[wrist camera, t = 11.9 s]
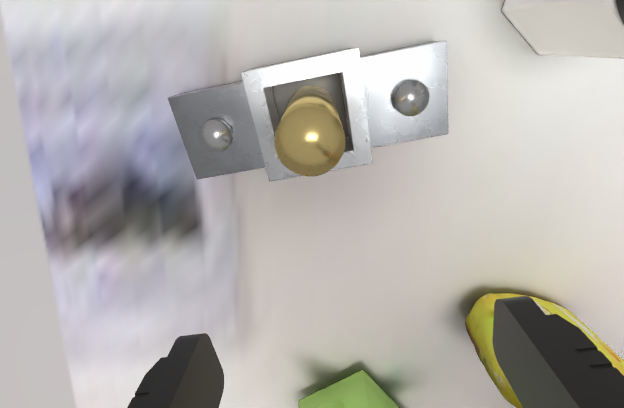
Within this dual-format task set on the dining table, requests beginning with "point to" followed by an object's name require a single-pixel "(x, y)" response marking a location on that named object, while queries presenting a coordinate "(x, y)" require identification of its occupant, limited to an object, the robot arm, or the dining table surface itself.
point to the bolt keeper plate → (357, 99)
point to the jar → (570, 26)
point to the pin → (310, 133)
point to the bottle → (482, 335)
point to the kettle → (350, 394)
